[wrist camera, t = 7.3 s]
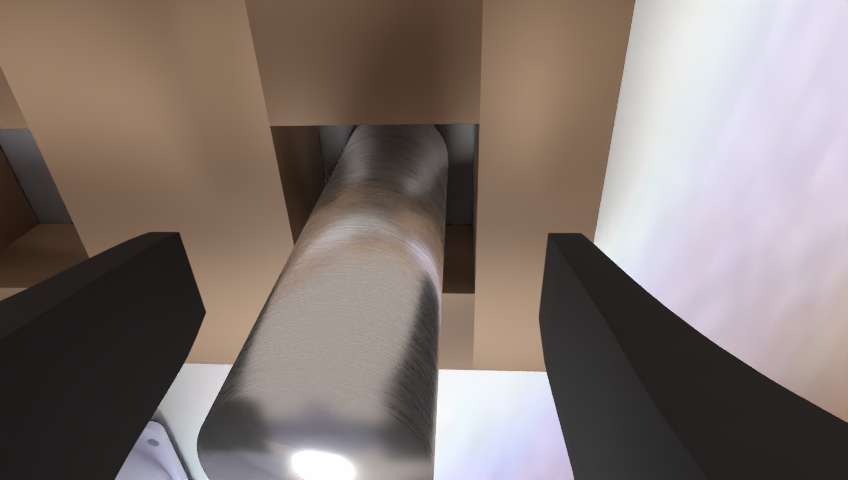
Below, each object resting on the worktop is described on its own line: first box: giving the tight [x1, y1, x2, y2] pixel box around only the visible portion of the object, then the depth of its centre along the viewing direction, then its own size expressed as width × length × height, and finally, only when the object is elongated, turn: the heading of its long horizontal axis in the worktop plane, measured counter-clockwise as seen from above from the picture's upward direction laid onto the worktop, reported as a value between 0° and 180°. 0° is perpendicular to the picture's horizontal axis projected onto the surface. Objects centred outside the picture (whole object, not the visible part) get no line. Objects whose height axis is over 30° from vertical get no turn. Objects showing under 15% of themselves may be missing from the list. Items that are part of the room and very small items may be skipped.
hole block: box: [0, 0, 635, 372], centre depth 14 cm, size 10×20×4 cm, turn 92°
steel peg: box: [197, 124, 448, 480], centre depth 11 cm, size 3×3×10 cm
